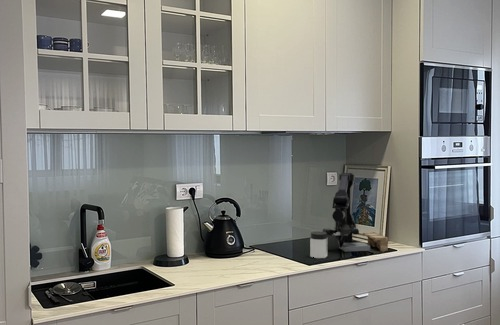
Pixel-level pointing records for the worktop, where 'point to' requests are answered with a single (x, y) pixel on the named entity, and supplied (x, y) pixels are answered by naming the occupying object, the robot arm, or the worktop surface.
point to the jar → (318, 245)
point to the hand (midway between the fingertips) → (340, 247)
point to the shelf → (377, 241)
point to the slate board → (355, 247)
